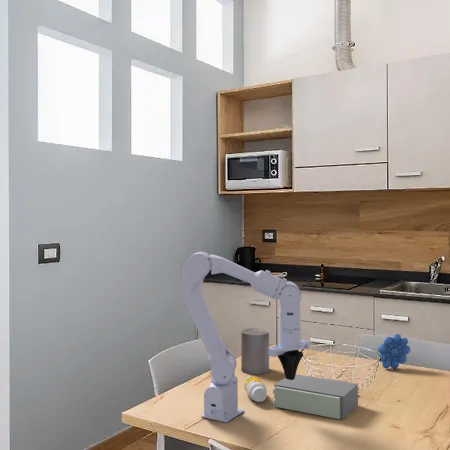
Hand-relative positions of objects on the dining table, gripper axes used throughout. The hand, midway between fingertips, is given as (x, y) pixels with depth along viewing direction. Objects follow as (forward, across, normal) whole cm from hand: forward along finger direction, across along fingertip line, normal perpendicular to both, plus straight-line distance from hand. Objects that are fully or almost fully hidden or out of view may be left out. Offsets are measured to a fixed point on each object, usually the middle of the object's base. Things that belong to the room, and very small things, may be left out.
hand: (290, 378), depth 143 cm
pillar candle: (+10, +23, +36) cm, 43 cm away
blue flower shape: (+10, +59, +4) cm, 60 cm away
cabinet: (+10, +10, 0) cm, 14 cm away
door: (+9, +4, -2) cm, 10 cm away
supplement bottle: (+7, +5, +19) cm, 21 cm away
